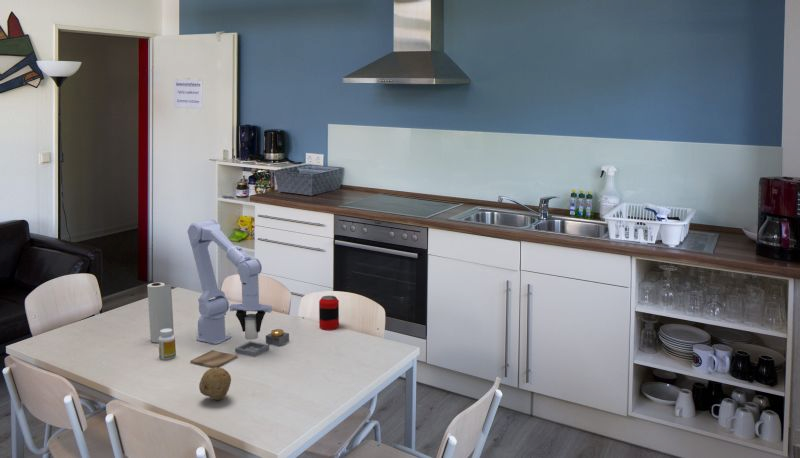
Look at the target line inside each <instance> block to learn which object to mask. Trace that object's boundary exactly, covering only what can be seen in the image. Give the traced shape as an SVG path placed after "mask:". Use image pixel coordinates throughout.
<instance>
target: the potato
mask: <svg viewBox="0 0 800 458" xmlns="http://www.w3.org/2000/svg"><path fill="white" fill-rule="evenodd" d="M231 381H232V376H231V374H230V373H229V371H227V370H226V369H224V368H223V367H219V368H217V367H215V368H211V367H210V368H209V369H207V370H206V371H205V372H204V373H203V375H202V376H201V378H200V381H199V383H198V387H199V392H200V393H201V394H202V395H203V396H205V397H209V398H211V399H212V400H214V401H220V400H222V399H223V398H224V397H225V396H226V395H227V394H228V392H229V390H230V387H231V383H232V382H231Z"/></svg>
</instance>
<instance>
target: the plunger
mask: <svg viewBox="0 0 800 458" xmlns="http://www.w3.org/2000/svg"><path fill="white" fill-rule="evenodd" d="M283 332H284V330H283V329H282V328H281V329H280V328H279V329H278V328H276V329H271V331H270V333H271V335H272V336H282V335H283Z"/></svg>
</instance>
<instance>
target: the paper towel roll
mask: <svg viewBox="0 0 800 458" xmlns="http://www.w3.org/2000/svg"><path fill="white" fill-rule="evenodd" d="M146 286H147V301H148V315H149V316H148V317H149V318H148V319H149V334H150V336H149V337H150V342H151V343H157V344H159V341H158V339H159V337H160V336H161V335H160V330H162V329H172V332H173V334H172V335H174V336H175V331H174V313H173V312H174V311H173V296H172V295H173V294H172V284H171V283H170V284H169V283H168V284H166V283H163V282H152V283H149V284H147V285H146Z"/></svg>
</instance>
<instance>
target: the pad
mask: <svg viewBox="0 0 800 458" xmlns="http://www.w3.org/2000/svg"><path fill="white" fill-rule="evenodd" d="M236 359H238V355H237V354H233V353H227V352H223V351H218V350H209V351H208V352H205V353H204V354H202V355H198V356H197V357H195V358H192V359H191V360H189V362H190V363H189V364H193V365H199V366H202V367H207V368H210V369H211V368H215V367H217V368H221V367H222V366H224V365H226V364H228V363H230V362H231V361H232V362H233V361H234V360H236Z"/></svg>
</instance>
